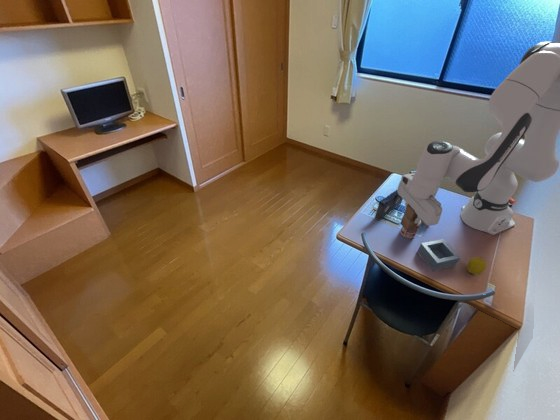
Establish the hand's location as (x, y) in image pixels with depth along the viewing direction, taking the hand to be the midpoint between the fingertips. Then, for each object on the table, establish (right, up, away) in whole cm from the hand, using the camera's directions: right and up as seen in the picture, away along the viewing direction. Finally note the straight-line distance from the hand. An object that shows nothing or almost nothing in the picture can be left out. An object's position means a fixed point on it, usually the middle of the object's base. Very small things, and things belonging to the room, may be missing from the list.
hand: (411, 217), depth 106 cm
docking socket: (+12, -17, +6) cm, 22 cm away
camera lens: (+16, -2, +23) cm, 29 cm away
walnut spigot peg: (0, -4, +3) cm, 5 cm away
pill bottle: (+6, -8, +17) cm, 19 cm away
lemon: (+23, -21, +1) cm, 32 cm away
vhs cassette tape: (+2, +2, +28) cm, 28 cm away
